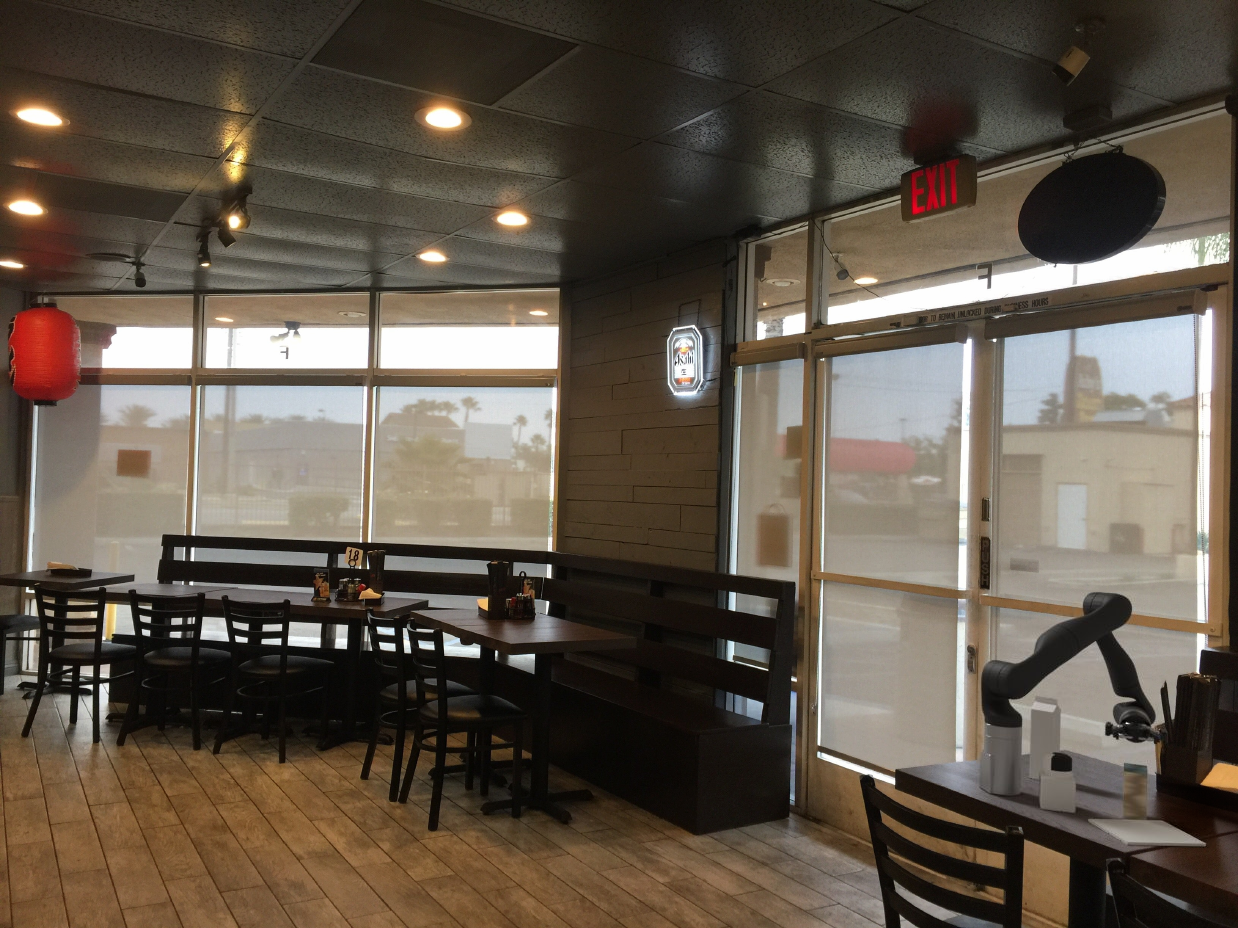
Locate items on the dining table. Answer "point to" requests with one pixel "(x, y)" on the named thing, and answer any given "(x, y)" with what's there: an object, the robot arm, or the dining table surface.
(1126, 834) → the mat
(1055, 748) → the milk
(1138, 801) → the block
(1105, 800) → the dining table surface
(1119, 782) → the dining table surface
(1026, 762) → the dining table surface
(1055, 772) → the container
